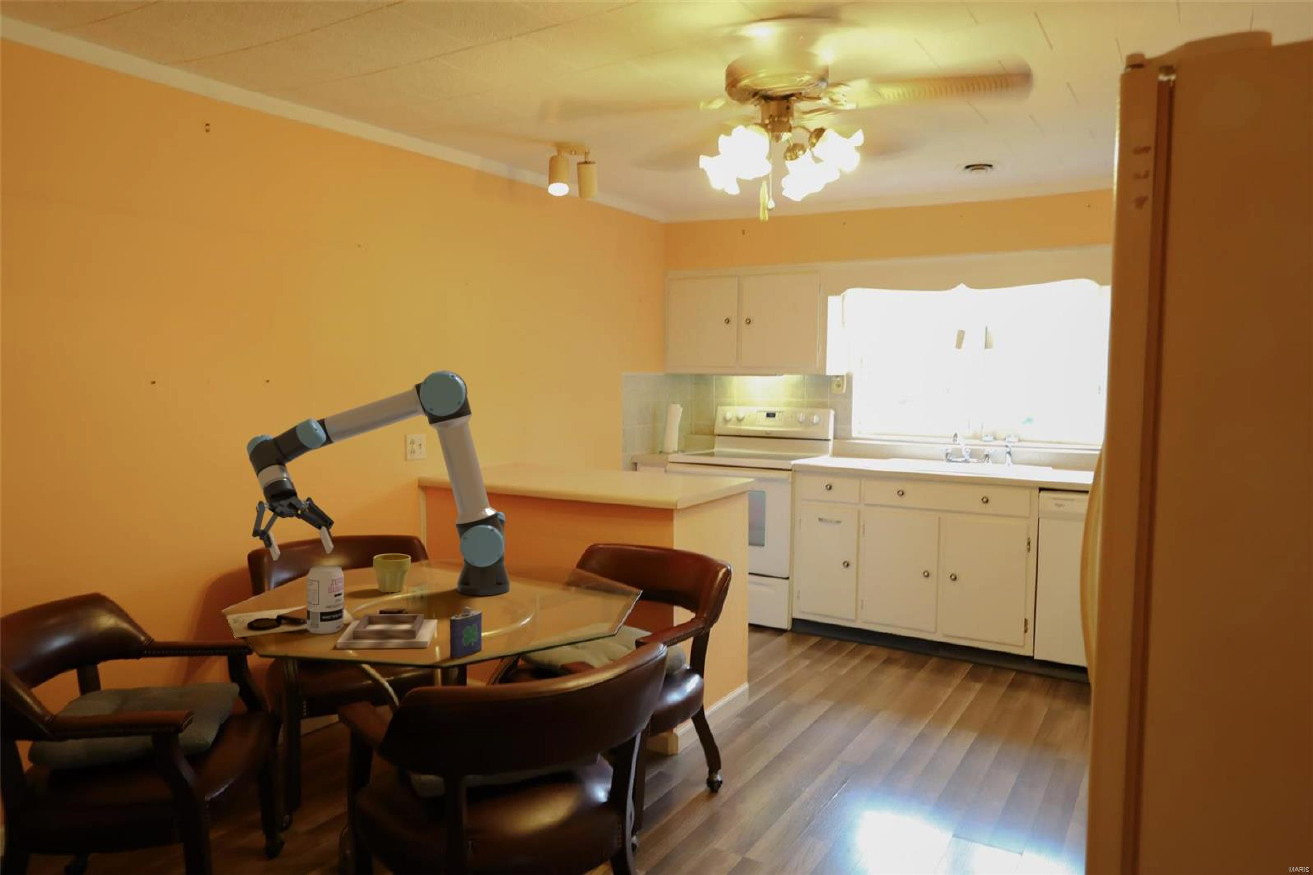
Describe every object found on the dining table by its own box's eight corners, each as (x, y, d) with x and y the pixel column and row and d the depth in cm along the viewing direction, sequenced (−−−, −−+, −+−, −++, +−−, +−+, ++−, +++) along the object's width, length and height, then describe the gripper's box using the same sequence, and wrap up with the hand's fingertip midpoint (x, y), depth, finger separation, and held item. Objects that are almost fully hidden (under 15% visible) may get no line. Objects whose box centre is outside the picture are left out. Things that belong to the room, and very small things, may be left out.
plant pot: (414, 586, 256) (414, 553, 256) (405, 595, 246) (405, 560, 245) (378, 585, 256) (379, 552, 255) (368, 594, 245) (368, 559, 245)
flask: (476, 647, 200) (476, 601, 199) (485, 650, 198) (486, 603, 197) (446, 658, 192) (447, 610, 191) (456, 660, 190) (457, 612, 189)
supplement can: (312, 625, 214) (313, 564, 213) (347, 625, 214) (347, 565, 213) (302, 634, 206) (302, 572, 205) (338, 635, 206) (338, 572, 205)
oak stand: (437, 625, 216) (437, 611, 216) (427, 647, 199) (428, 632, 198) (353, 626, 214) (353, 612, 214) (336, 648, 196) (336, 633, 196)
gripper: (319, 492, 236) (346, 556, 227) (223, 499, 218) (248, 569, 209) (328, 475, 233) (356, 539, 223) (232, 480, 214) (258, 550, 205)
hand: (304, 553), depth 216 cm, fingers open, 13 cm apart
